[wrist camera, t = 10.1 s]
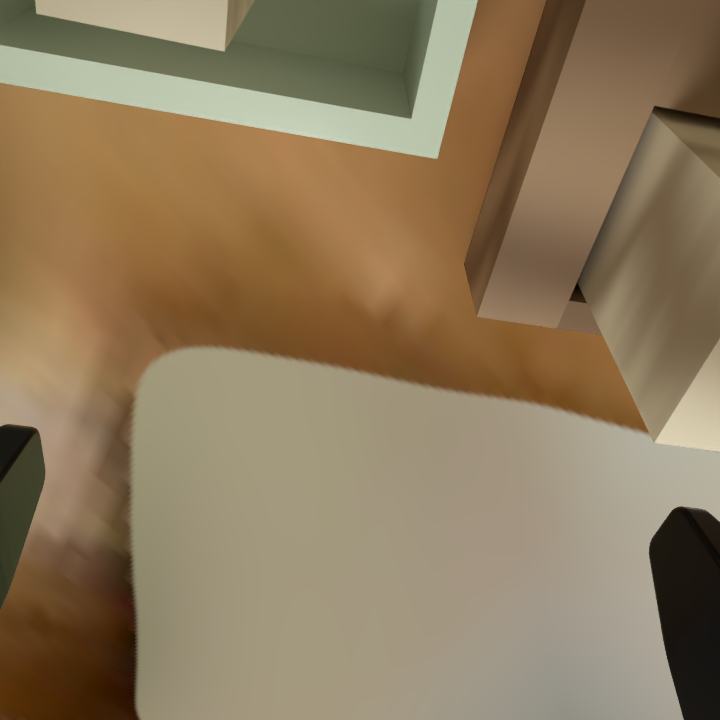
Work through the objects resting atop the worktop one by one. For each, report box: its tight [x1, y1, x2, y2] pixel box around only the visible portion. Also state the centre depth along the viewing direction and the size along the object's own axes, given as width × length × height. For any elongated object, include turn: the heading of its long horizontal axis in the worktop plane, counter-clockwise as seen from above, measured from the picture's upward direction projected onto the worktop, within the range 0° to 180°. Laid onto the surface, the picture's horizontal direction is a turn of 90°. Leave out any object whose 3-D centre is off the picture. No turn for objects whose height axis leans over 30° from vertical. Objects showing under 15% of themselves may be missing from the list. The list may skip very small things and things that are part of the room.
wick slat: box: [577, 106, 720, 451], centre depth 17 cm, size 5×2×9 cm, turn 170°
